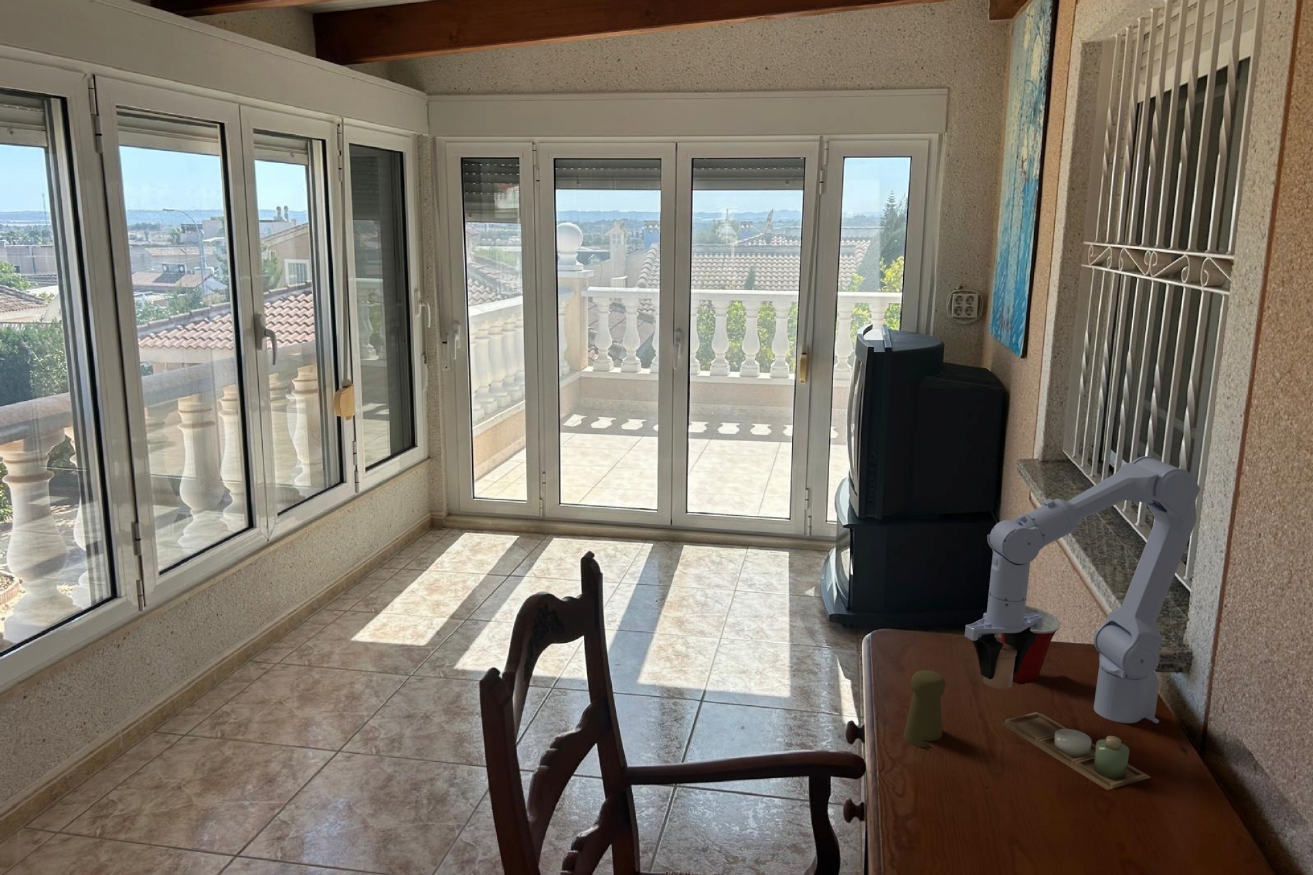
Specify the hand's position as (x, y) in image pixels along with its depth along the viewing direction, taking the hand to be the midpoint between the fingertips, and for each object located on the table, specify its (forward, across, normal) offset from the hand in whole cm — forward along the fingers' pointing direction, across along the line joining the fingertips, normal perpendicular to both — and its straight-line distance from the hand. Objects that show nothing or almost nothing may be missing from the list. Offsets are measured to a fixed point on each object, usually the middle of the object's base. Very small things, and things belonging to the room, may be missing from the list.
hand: (999, 673), depth 161 cm
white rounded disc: (+7, -3, +13) cm, 15 cm away
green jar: (+7, -3, +20) cm, 22 cm away
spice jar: (+2, 0, 0) cm, 2 cm away
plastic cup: (+9, -17, -11) cm, 22 cm away
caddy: (+8, -3, +13) cm, 16 cm away
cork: (+8, +15, 0) cm, 17 cm away
